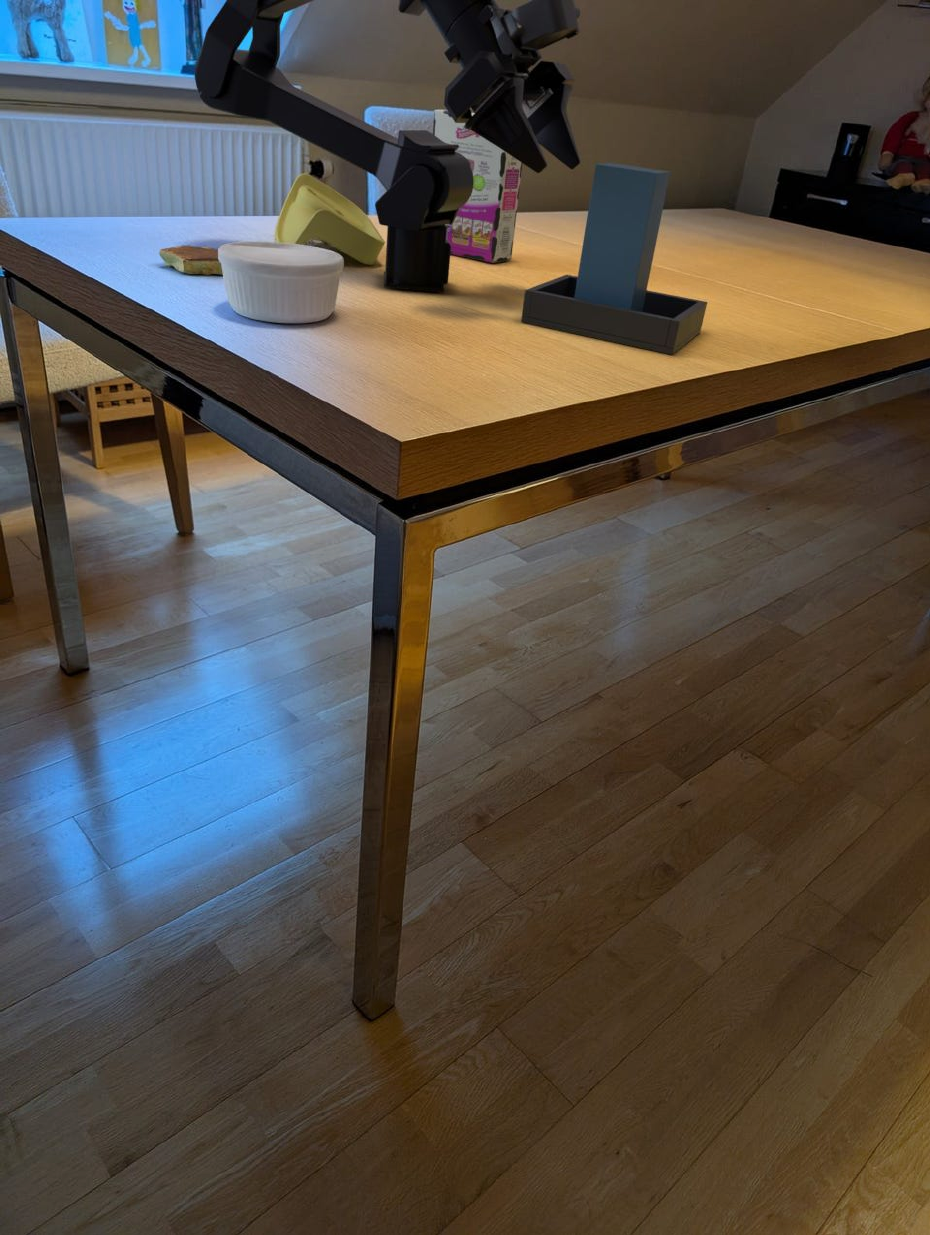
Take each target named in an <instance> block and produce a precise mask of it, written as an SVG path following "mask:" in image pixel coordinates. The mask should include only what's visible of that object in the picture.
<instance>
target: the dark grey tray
mask: <svg viewBox="0 0 930 1235" xmlns="http://www.w3.org/2000/svg"><path fill="white" fill-rule="evenodd" d="M577 278H578V276H577V275H571V274H564V275H562V276H558V277H556V278H554V279H550V280H548V281H546V282H542V283H539V284H538V285H537V284H536V285H535V286H532V287H529V288H527V289H525V290H524V294H523V295H524V296H523V302H522V303H523V304H522V310H521V319H520V322H521V323H524V324H529V325H532V326H537V327H543V328H547V329H552V330H555V331H561V332H565V333H570V334H574V335H579V336H584V337H588V338H593V339H598V340H601V341H606V342H611V343H615V344H621V345H625V346H630V347H634V348H639V349H644V350H648V351H652V352H656V353H661V354H666V355H669V356H672V355H674V354H675V353H676V352H678V351H680V349H682V348H683V347H684V346H685V345H687V343H690V341H692V340H693V339H694V338H695V337H697V336H698V335H699V334H700V333H701V331H702V327H703V323H704V320H705V315H706V311H707V307H708V306H707V305H708V302H707V301H704V300H700V299H693V298H689V297H684V296H678V295H674V294H668V293H663V292H658V291H652V290H648V289H647V291H646V296H645V301H644V306H643V311H642V312H639V311H634V310H629V309H624V308H620V307H615V306H610V305H605V304H600V303H595V302H590V301H585V300H580V299H575V298H574V297H575V291H576V285H577Z"/></svg>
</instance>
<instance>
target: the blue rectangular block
mask: <svg viewBox="0 0 930 1235" xmlns="http://www.w3.org/2000/svg"><path fill="white" fill-rule="evenodd" d="M670 175H671V171H668V170H661V169H655V168H648V167H640V166H635V165H628V164H621V163H615V162H604V163H603V162H602V163H596V164H595V165H594V172H593V178H592V184H591V185H592V186H591V191H590V198H589V204H588V210H587V217H586V223H585V228H584V235H583V241H582V242H583V243H582V246H581V247H582V248H581V255H580V261H579V267H578V272H577V277H578V278H577V285H576V291H575V297H574V298H575V299H580V300H585V301H590V302H595V303H600V304H605V305H610V306H615V307H620V308H624V309H629V310H634V311H639V312H642V311H643V306H644V301H645V296H646V291H647V290H648V286H649V280H650V275H651V271H652V266H653V261H654V255H655V250H656V247H657V246H656V245H657V241H658V236H659V231H660V225H661V221H662V215H663V211H664V205H665V200H666V195H667V190H668V186H669V180H670Z"/></svg>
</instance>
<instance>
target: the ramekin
mask: <svg viewBox="0 0 930 1235" xmlns="http://www.w3.org/2000/svg"><path fill="white" fill-rule="evenodd" d="M217 249H218V259H219V261H220V263H221V266H222V272H223V275H222V277H223V282H224V287H225V288H224V289H225V294H226V296H227V297H226V298H227V301H228V305H229V306H230V307H231V308H232V310H233V311H234V312H235V313H236V314H238V315H240V316H242V317H245V318H248V319H251V320H256V321H261V322H269V323H276V324H308V323H316V322H320V321H324V320H326V319H327V318H329V317H330V316H331V314H332V313H333V312H334V311H335V308H336V306H337V299H338V298H337V297H338V293H339V286H340V279H341V273H342V271H343V270H344V268H345V261H344V257H343V255H341V254H340V253H338V252H336V251H333V250H330V249H326V248H324V247H323V248H322V247H317V246H312V245H307V244H306V245H299V244H290V243H279V242H276V241H252V240H251V241H236V242H229V243H225V244H223V245H220V246H219V247H218V248H217Z"/></svg>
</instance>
